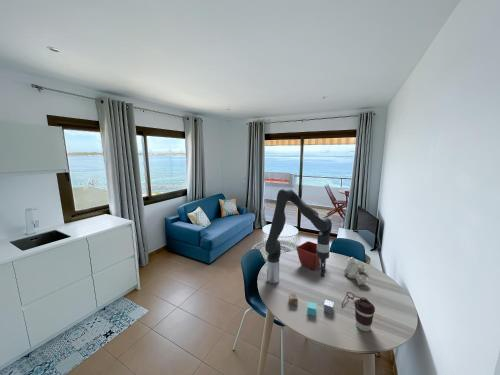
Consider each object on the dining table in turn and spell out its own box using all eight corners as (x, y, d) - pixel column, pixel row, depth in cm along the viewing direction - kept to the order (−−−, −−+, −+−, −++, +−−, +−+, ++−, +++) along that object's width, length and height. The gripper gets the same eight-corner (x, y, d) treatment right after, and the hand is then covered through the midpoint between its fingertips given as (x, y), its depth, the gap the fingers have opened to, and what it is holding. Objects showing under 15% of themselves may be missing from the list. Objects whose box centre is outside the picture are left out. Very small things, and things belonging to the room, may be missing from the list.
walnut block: (289, 305, 133) (289, 298, 132) (289, 300, 138) (289, 293, 137) (297, 305, 133) (297, 298, 132) (296, 300, 137) (296, 293, 137)
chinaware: (370, 291, 146) (374, 270, 143) (344, 284, 152) (348, 264, 149) (363, 270, 172) (367, 252, 169) (342, 265, 178) (345, 247, 174)
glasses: (368, 305, 131) (369, 298, 131) (364, 318, 122) (364, 310, 121) (346, 296, 140) (347, 290, 139) (340, 308, 130) (341, 301, 129)
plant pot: (307, 257, 193) (308, 240, 190) (326, 265, 179) (327, 247, 176) (295, 265, 180) (296, 247, 177) (315, 274, 166) (316, 254, 164)
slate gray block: (323, 311, 127) (324, 304, 126) (325, 306, 131) (325, 299, 130) (332, 314, 125) (332, 307, 124) (333, 309, 129) (333, 302, 128)
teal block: (307, 314, 125) (307, 307, 124) (307, 308, 130) (308, 301, 129) (315, 316, 123) (316, 309, 123) (316, 310, 128) (316, 303, 127)
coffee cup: (364, 336, 109) (366, 311, 107) (349, 323, 118) (350, 299, 116) (377, 329, 113) (379, 305, 110) (361, 317, 122) (362, 294, 119)
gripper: (316, 243, 135) (316, 266, 138) (316, 254, 122) (316, 278, 124) (328, 245, 133) (327, 267, 136) (330, 255, 120) (329, 280, 122)
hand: (322, 273), depth 130 cm, fingers open, 8 cm apart
